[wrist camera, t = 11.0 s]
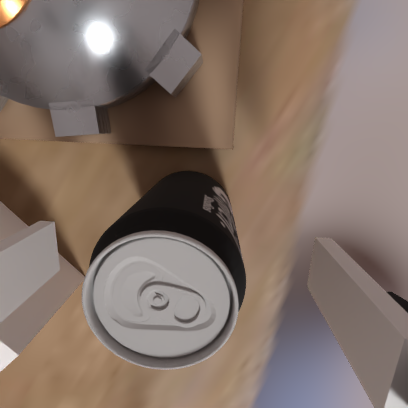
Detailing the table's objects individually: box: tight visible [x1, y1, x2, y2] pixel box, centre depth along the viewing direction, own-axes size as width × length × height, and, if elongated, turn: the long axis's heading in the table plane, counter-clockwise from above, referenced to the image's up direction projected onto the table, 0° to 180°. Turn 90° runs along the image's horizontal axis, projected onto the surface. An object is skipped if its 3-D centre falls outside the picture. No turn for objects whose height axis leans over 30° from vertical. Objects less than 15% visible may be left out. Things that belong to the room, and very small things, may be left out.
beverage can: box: [82, 171, 246, 370], centre depth 16 cm, size 7×7×12 cm
